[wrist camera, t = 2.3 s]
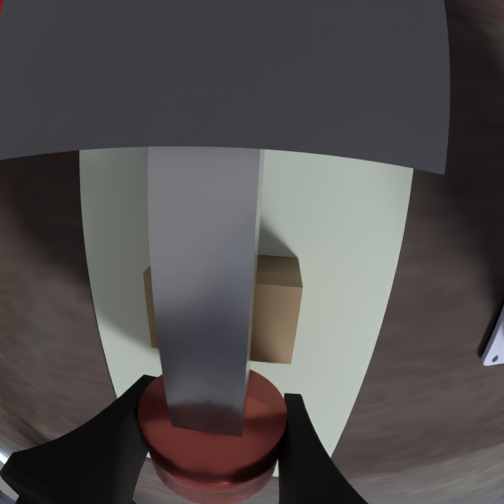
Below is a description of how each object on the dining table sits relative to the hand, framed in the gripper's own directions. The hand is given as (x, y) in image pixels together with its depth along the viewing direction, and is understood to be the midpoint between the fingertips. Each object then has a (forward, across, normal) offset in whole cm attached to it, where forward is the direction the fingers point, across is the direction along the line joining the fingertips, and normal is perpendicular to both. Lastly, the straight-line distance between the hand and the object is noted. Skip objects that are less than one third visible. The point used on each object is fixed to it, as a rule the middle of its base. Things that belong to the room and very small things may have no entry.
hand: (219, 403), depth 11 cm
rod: (+1, 0, -8) cm, 8 cm away
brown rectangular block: (+2, 0, -4) cm, 5 cm away
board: (+3, 0, -3) cm, 5 cm away
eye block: (+2, 0, -12) cm, 12 cm away
